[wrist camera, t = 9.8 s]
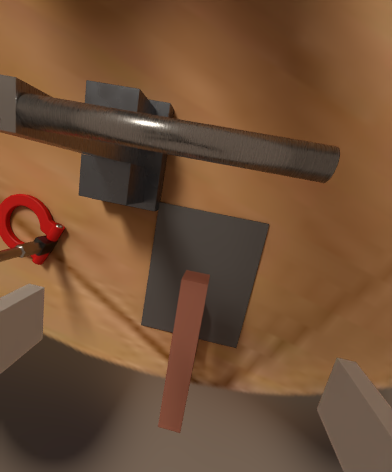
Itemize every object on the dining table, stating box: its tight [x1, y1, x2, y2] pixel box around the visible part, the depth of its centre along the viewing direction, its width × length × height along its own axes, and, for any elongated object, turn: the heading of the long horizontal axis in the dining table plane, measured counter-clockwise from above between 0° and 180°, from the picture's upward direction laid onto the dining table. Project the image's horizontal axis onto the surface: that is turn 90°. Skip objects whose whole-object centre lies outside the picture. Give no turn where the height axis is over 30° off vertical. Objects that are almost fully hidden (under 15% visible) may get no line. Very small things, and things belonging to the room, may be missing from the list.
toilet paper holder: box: [0, 75, 340, 211], centre depth 19 cm, size 12×20×18 cm, turn 79°
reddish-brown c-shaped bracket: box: [158, 270, 210, 433], centre depth 26 cm, size 10×2×17 cm
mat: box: [141, 202, 269, 348], centre depth 30 cm, size 18×14×1 cm
